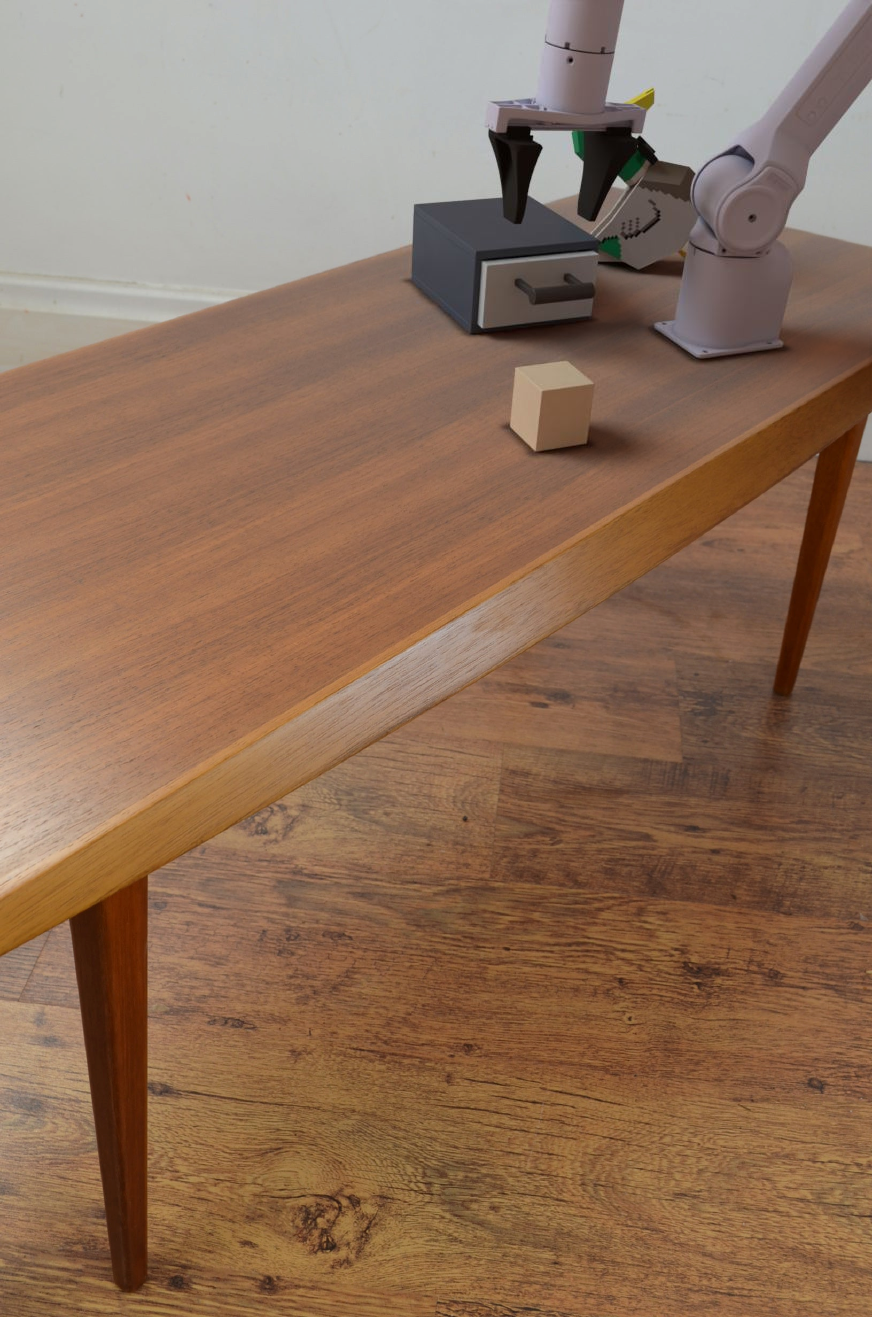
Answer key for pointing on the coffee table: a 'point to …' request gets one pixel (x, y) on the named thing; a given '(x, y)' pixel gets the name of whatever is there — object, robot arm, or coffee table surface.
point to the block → (551, 405)
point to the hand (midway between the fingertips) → (549, 219)
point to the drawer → (536, 288)
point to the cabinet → (482, 250)
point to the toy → (646, 205)
